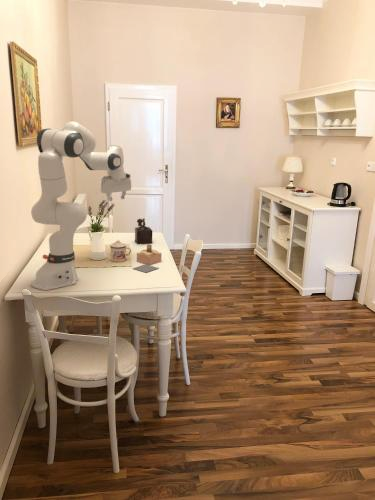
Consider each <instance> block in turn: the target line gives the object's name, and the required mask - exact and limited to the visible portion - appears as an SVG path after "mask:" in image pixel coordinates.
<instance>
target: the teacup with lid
mask: <svg viewBox="0 0 375 500" xmlns="http://www.w3.org/2000/svg"><path fill="white" fill-rule="evenodd" d="M127 249H128V250H129V253H127ZM131 253H132V249H131V248H130V247H129V246H127V244H125V243H124V242H122V241H120V240H119V239H118V240H116V242H113V243H111V244H110V260H112V261H111V262H113V261H114V263H122V261H123V262H125V261H126V260H127V257H129V255H131Z"/></svg>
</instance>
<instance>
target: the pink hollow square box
mask: <svg viewBox="0 0 375 500" xmlns="http://www.w3.org/2000/svg"><path fill="white" fill-rule="evenodd" d="M140 252H141V251H139V252H137V253H136V262H137V263H140V264H141V263H142V264H143V265H145V264H147V265H150V266H152V265H154V264H157V263H160V262H162V252H159V251H158V254H156V255H152V256H146V255H142V254H140Z"/></svg>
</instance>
